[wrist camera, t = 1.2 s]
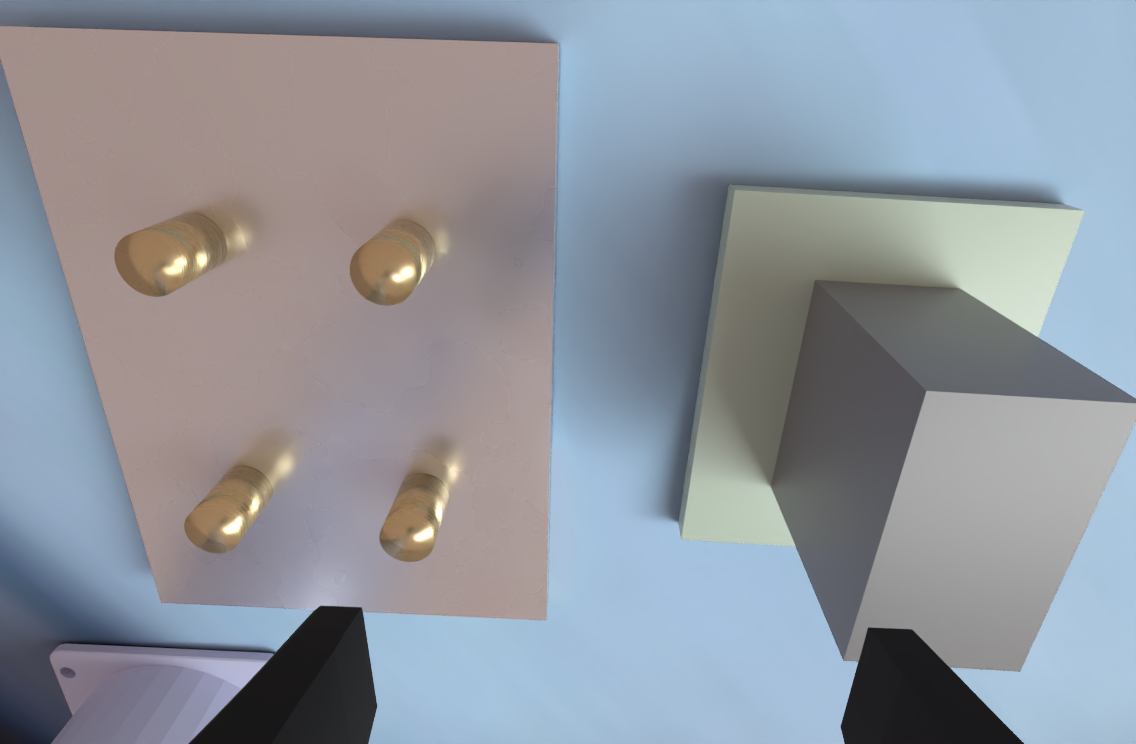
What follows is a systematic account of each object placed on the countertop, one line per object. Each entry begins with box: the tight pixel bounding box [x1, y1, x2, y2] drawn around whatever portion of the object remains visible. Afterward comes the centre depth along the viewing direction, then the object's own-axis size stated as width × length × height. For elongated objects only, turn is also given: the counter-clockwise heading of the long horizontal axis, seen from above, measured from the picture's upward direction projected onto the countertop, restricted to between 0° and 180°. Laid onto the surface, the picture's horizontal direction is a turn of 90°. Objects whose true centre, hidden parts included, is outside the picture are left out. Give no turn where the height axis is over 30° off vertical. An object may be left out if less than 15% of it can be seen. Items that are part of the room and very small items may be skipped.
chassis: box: [0, 26, 560, 620], centre depth 17 cm, size 16×12×3 cm
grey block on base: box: [678, 184, 1136, 672], centre depth 15 cm, size 10×8×7 cm
